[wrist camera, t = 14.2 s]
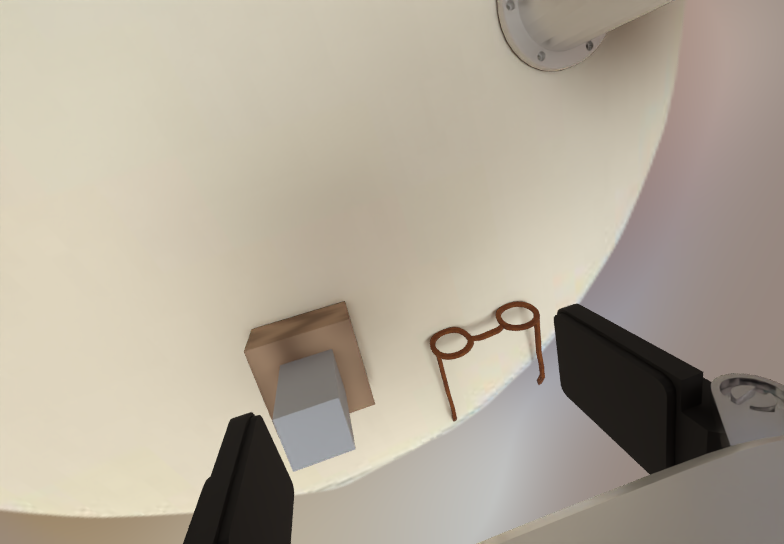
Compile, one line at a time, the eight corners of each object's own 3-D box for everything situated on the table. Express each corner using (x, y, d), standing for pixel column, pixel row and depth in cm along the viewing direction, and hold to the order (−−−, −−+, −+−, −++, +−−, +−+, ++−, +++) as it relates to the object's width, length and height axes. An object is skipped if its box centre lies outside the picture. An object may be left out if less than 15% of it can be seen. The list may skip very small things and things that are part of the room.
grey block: (331, 348, 35) (338, 397, 27) (345, 391, 36) (355, 449, 29) (280, 365, 34) (272, 420, 26) (296, 408, 35) (293, 471, 28)
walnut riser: (344, 301, 39) (349, 318, 34) (367, 378, 42) (375, 404, 37) (251, 329, 37) (243, 351, 33) (282, 407, 40) (279, 437, 36)
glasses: (521, 296, 44) (546, 310, 40) (539, 381, 48) (564, 403, 44) (423, 335, 43) (437, 355, 38) (450, 420, 47) (466, 448, 42)
